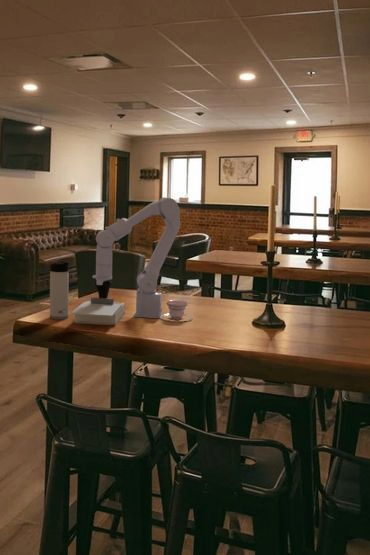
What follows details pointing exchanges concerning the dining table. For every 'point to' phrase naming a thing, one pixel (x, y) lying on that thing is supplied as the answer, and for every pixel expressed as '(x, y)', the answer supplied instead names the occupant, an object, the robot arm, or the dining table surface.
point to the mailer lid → (97, 307)
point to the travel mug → (59, 290)
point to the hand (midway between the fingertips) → (103, 301)
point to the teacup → (176, 310)
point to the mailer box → (101, 317)
